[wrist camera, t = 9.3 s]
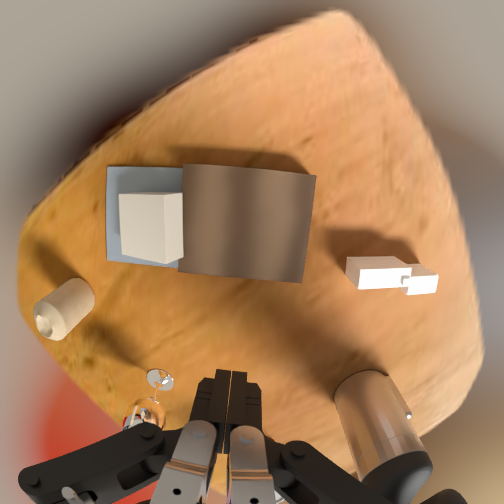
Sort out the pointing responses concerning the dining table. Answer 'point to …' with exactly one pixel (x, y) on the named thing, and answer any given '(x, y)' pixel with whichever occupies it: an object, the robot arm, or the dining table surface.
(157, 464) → the robot arm
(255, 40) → the dining table surface
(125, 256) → the mat
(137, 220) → the white block
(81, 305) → the candle
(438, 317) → the dining table surface
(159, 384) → the wineglass
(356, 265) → the napkin holder
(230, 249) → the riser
